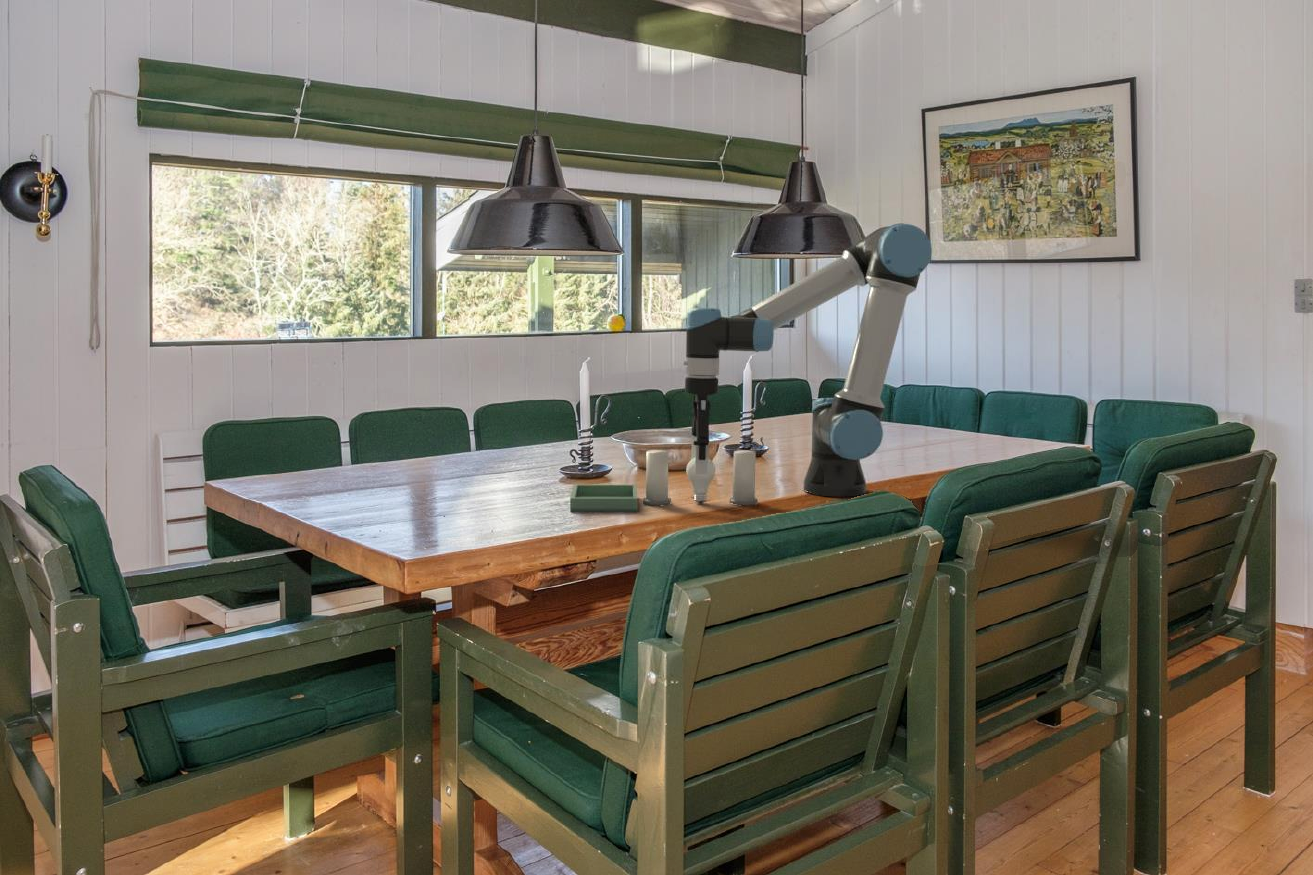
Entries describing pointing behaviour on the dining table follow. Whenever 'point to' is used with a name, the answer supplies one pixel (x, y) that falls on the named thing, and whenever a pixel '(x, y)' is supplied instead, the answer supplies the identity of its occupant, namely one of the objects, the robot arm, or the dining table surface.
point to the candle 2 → (744, 478)
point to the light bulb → (700, 480)
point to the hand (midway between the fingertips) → (698, 469)
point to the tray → (604, 498)
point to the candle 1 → (656, 478)
